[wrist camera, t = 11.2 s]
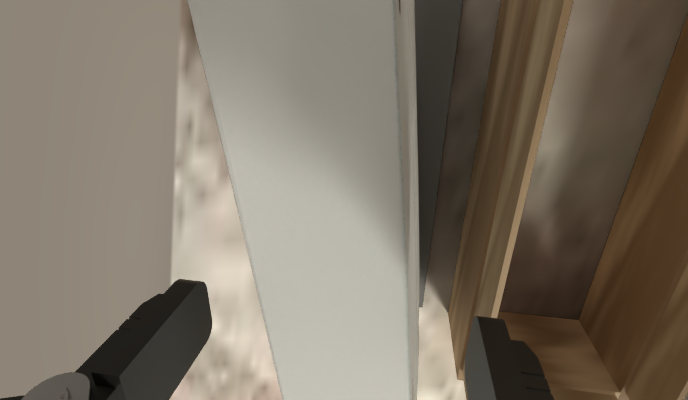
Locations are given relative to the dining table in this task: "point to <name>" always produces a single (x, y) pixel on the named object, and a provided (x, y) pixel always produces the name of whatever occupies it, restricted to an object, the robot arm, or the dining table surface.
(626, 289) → the carton
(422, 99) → the mat
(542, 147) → the dining table surface
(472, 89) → the dining table surface
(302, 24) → the skincare box
